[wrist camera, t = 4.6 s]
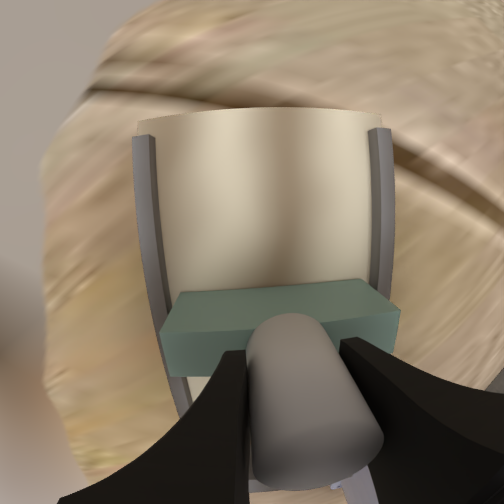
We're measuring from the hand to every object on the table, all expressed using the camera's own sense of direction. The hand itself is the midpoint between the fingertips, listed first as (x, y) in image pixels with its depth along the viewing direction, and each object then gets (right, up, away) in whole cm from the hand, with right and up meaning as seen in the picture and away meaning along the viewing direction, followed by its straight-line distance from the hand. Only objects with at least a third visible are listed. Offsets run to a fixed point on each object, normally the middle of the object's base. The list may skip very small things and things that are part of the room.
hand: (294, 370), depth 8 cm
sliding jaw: (0, +1, +5) cm, 5 cm away
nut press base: (0, -1, +7) cm, 7 cm away
